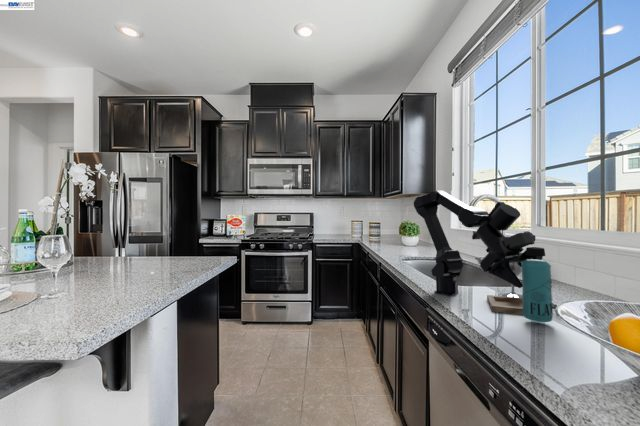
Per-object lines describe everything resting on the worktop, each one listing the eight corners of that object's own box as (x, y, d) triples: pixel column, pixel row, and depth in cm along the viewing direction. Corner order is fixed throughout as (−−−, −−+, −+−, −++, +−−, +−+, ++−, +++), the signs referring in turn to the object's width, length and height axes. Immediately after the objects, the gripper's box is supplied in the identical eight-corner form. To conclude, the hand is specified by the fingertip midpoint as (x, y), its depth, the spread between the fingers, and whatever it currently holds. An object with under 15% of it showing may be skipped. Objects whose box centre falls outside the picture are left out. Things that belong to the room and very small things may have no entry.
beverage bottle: (527, 326, 73) (524, 248, 73) (518, 317, 79) (516, 245, 79) (558, 329, 71) (555, 248, 71) (547, 320, 77) (545, 246, 77)
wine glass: (518, 292, 104) (517, 251, 104) (532, 299, 96) (531, 254, 96) (495, 292, 105) (494, 251, 105) (507, 298, 97) (506, 254, 97)
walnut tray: (492, 311, 85) (491, 305, 85) (487, 299, 96) (487, 294, 96) (544, 316, 80) (544, 310, 80) (532, 303, 91) (532, 298, 91)
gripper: (487, 223, 78) (529, 270, 67) (535, 221, 84) (581, 264, 73) (465, 249, 85) (500, 295, 75) (511, 246, 91) (549, 288, 81)
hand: (533, 285), depth 76 cm, fingers open, 9 cm apart
